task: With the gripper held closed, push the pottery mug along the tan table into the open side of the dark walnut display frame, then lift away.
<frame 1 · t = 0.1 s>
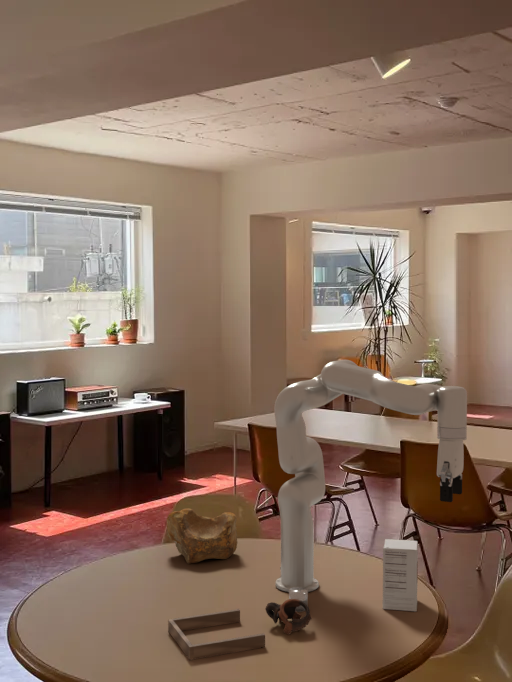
hand: (451, 497, 222), 31 cm above the table, fingers open, 9 cm apart
display frame: (217, 638, 208), on the table
rough brown rock: (200, 559, 271), on the table
supplement box: (400, 605, 230), on the table
grey tin: (298, 608, 228), on the table
pottery mug: (288, 628, 215), on the table
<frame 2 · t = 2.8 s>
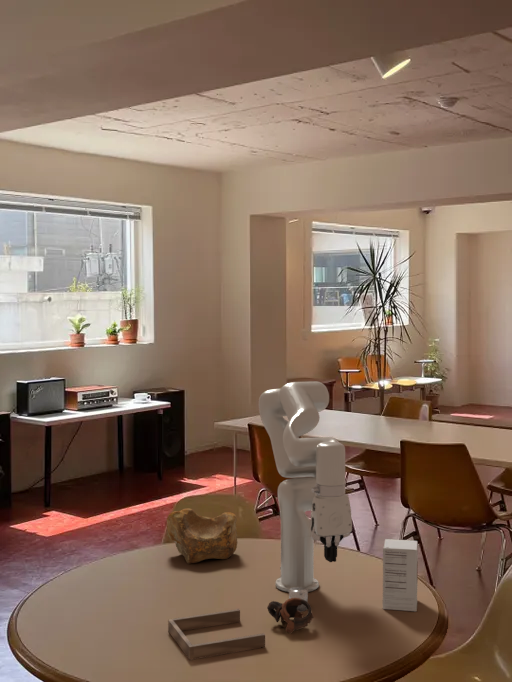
hand: (330, 560, 218), 16 cm above the table, fingers closed
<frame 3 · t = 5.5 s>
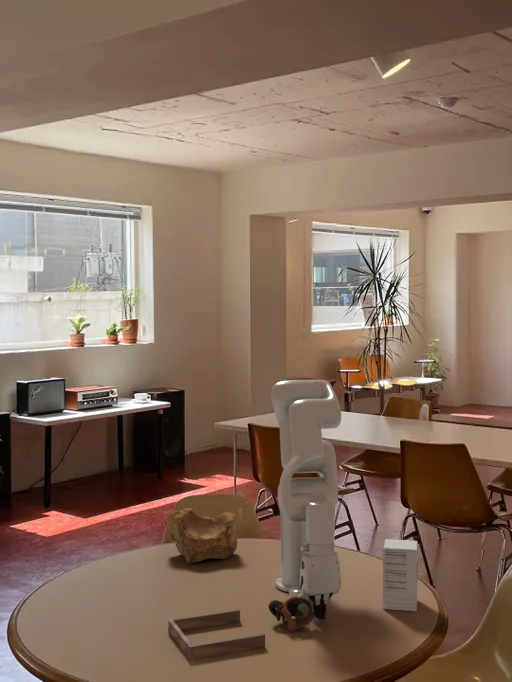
hand: (319, 617, 218), 1 cm above the table, fingers closed
pottery mug: (291, 625, 216), on the table, touching gripper
everything else where it was.
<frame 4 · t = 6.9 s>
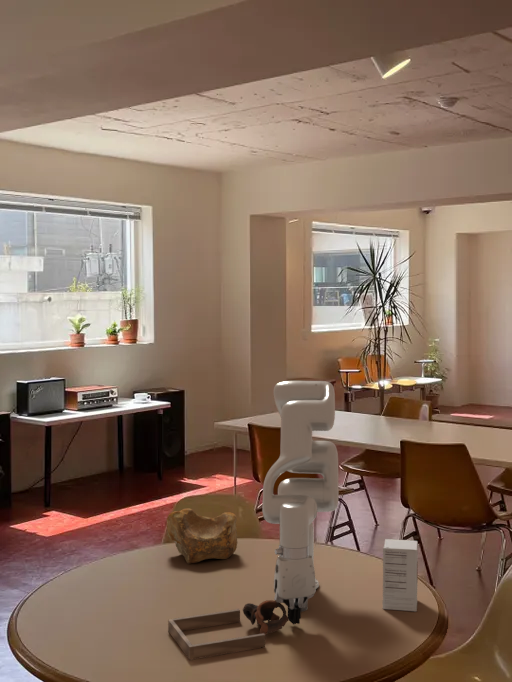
hand: (294, 621, 215), 1 cm above the table, fingers closed
pottery mug: (265, 629, 214), on the table, touching gripper
everything else where it was.
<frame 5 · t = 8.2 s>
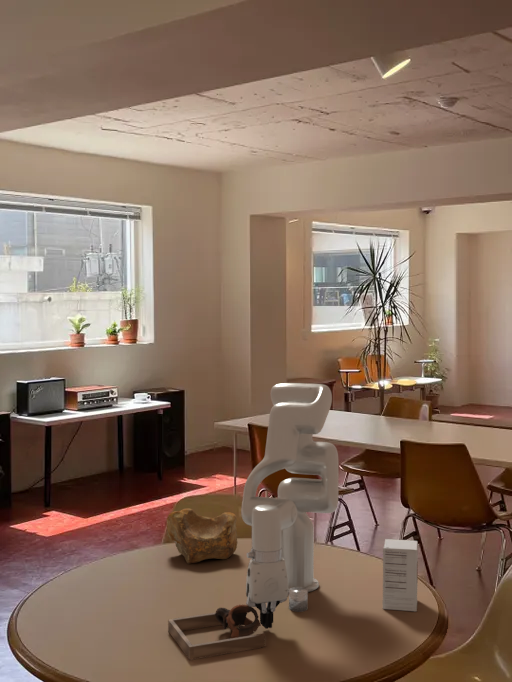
hand: (266, 626, 212), 1 cm above the table, fingers closed
pottery mug: (237, 634, 211), on the table, touching gripper
everything else where it was.
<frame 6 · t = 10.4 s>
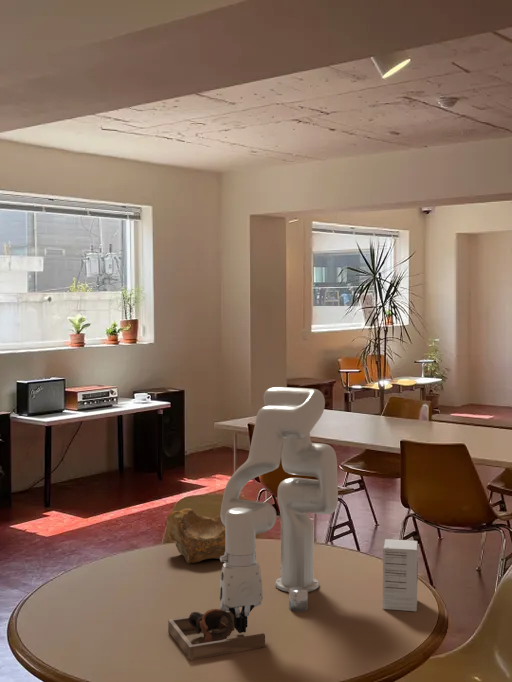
hand: (240, 630, 210), 1 cm above the table, fingers closed
pottery mug: (211, 639, 208), on the table, touching gripper
everything else where it was.
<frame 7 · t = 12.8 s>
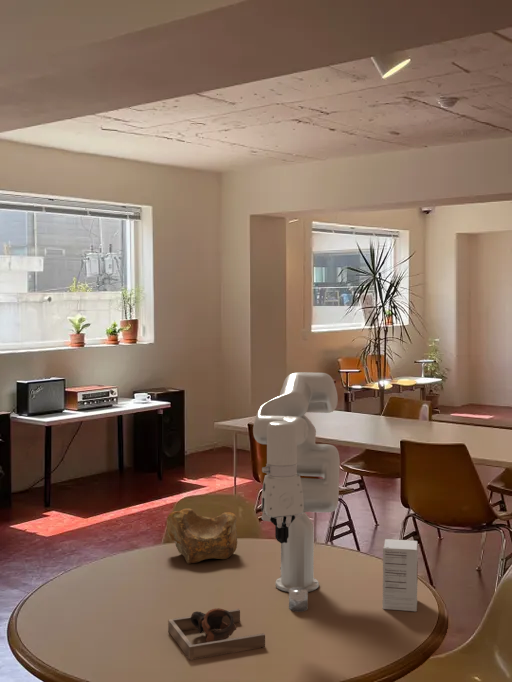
hand: (282, 541, 214), 22 cm above the table, fingers closed
pottery mug: (213, 638, 208), on the table
everything else where it was.
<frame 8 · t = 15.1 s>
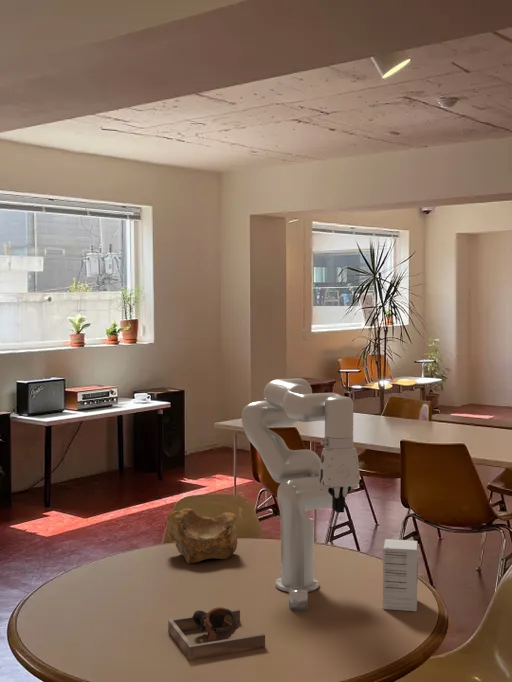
hand: (338, 511, 224), 27 cm above the table, fingers closed
nothing on the table moved.
at the end: pottery mug inside the target area on the display frame (1.8 cm from its centre), point 0.0 cm above the display frame's base; pottery mug tilted 1° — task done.
